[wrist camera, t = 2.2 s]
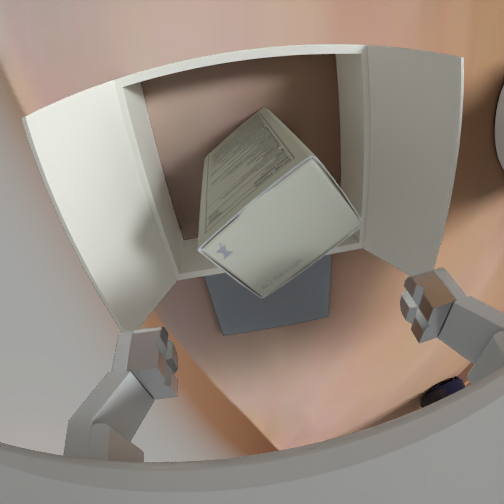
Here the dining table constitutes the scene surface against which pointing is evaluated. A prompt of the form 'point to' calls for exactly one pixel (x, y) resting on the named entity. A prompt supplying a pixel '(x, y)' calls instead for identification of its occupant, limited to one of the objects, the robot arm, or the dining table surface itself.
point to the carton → (158, 198)
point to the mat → (271, 300)
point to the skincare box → (269, 206)
